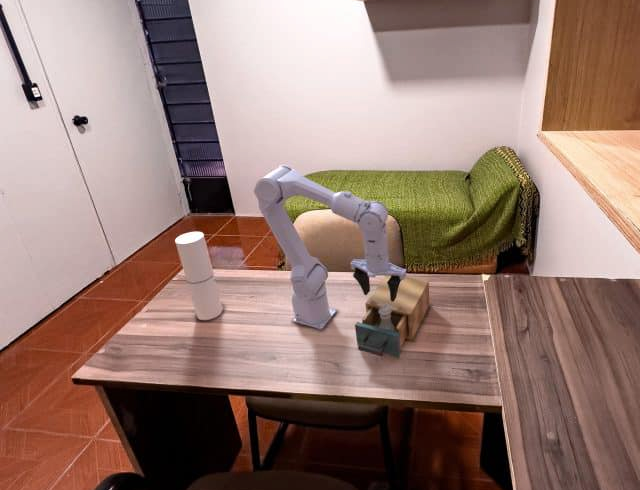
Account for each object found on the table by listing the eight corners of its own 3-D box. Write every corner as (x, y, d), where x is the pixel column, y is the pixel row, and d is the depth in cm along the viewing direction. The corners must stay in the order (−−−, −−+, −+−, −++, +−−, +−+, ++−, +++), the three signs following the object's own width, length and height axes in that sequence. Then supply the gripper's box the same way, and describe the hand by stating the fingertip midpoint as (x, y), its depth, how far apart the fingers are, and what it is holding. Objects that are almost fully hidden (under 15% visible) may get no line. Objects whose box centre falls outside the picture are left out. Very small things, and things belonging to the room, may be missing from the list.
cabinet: (412, 340, 100) (410, 313, 97) (368, 328, 105) (365, 303, 101) (429, 305, 112) (428, 280, 108) (389, 296, 117) (387, 272, 113)
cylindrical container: (191, 318, 113) (168, 242, 104) (207, 303, 120) (187, 230, 110) (212, 321, 112) (191, 244, 102) (227, 306, 118) (209, 232, 108)
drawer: (392, 370, 91) (390, 348, 88) (349, 357, 95) (346, 336, 92) (417, 321, 105) (416, 301, 102) (379, 312, 110) (377, 292, 107)
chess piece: (393, 339, 98) (391, 314, 95) (376, 337, 99) (373, 312, 96) (397, 327, 102) (395, 302, 99) (380, 325, 103) (378, 301, 100)
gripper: (342, 254, 95) (348, 299, 101) (397, 264, 89) (400, 311, 95) (356, 240, 101) (360, 283, 106) (408, 249, 95) (410, 294, 101)
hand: (380, 295), depth 101 cm, fingers open, 7 cm apart
